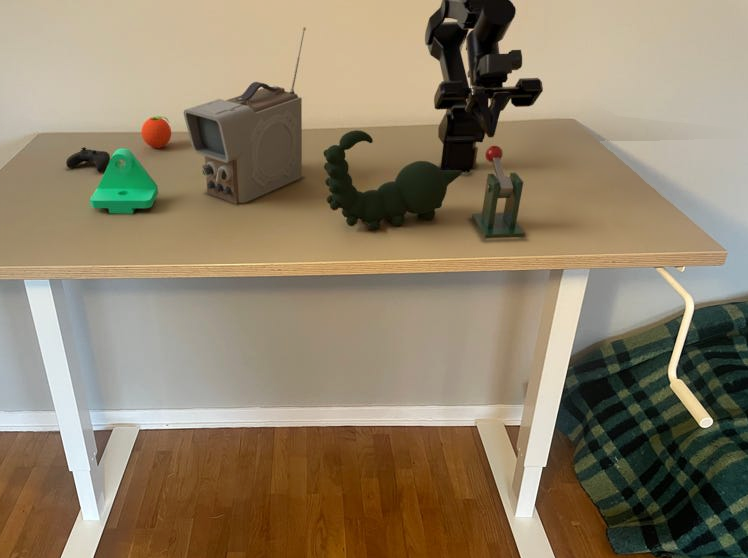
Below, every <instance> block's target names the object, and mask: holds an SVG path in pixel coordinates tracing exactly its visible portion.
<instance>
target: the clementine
mask: <svg viewBox="0 0 748 558" xmlns="http://www.w3.org/2000/svg"><path fill="white" fill-rule="evenodd" d="M163 118H164V119H163ZM141 137H142V140H143V141H144V143H145V144H146V145H148V146H150V147H151V148H154V149H160V148H164V147H165V146H166V145H168V144H169V142H170V140H171V139H172V138H171V137H172V128H171V126H170V121H169V119H168V118H167V117H165V116H161V115H160V116H159V115H158V116H153V117H150V118H147V120H145V121H144V123H143V124H142V127H141Z"/></svg>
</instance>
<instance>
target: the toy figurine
mask: <svg viewBox="0 0 748 558" xmlns="http://www.w3.org/2000/svg"><path fill="white" fill-rule="evenodd" d="M361 142H367V143H368V144H372V143H373V142H374V140H373V138H372V136H371V135H370V134H368V133H367V132H366V131H363V130H355V129H354V130H351V131H347V132H346V133H345V134H343V135H342V136H341V138H340V139H339V144H332V145H330V146H329V147H328V148H327V149H324V151H323V153H322V154H323V157H325V160H326V162H325V163H324V165H323V169H324V170H325V171H326V174H327V175H328V177H327V178H325V180H324V183H325V186H327V187H328V192H330V194H329V195H327V197H326V202H327V203H328V204H329V207H330V210H332V211H338V210H339V209H341V214H342V216H343V218H346V220H345V222H346V224H347V225H348V227H354V226H356V225H357V224H358V220H359V221H362V223H364V224H365V223H366V224H368V227H369V229H370V230H372V231H376V230H378V229H379V228H380V227H381V222H383V221H384V220H385V219H386V220H389V221H390V222H391V224H392V225H393V226H394V227H401V226H402V225H404V224H405V220H406V217H405V215H406V214H407V213H409V214H413V215H417V217H418V219H419V220H421V221H424V222H430V221H432V220H434V218H435V217H436V210H437V209H440V208H442V206H443V202H444V200H445V198H446V194H447V191H448V190H447V189H448V186H449V185H450V184H451V183H453V182H454V181H455V180H456V179H457V178H459V177H460V176H461V175H462V174H463V172H462V171H461V170H441V169H440V168H439V167H440V166H438V165H437V164H435V163H433V162H429V161H426V160H418V161H413V162H411V163H409V164H407V165H405V166H404V167H403V168H402V169H401V170H400V171H399V172H398V173H397V175H396V177H395V179H394V181H393V180H392V181H387V182H385V183H382V184H381V185H380V186H379V187H378V188H377V189H368V190H366V191H364V192H363V191H360V190H357V188H356V186H355V185H353V178H352V175H351V174H350V173H349V169H350V167H349V163H348V161H347V160H346V152H345V151H348V150H350V149H352V148H353V147H354V146H355V145H356V144H358V143H361Z"/></svg>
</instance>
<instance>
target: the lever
mask: <svg viewBox="0 0 748 558" xmlns="http://www.w3.org/2000/svg"><path fill="white" fill-rule="evenodd" d="M503 153H504V152H503V149H502V148H501V147H500V146H498V145H492V146H489V147H488V148H487V149H486V151H485V159H486V160H487V162H489V163H492V166H493V170H494V173H495V176H496V178H497V179H498V180H499V182H500V189H499V195H498V199H506V198H510V196H511V194H512V191H513V185H512V181H511V178H510V176H506V174H505V172H504V169H503V165H502V162H501V160H502V158H503V155H504V154H503Z"/></svg>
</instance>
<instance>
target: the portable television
mask: <svg viewBox="0 0 748 558" xmlns="http://www.w3.org/2000/svg"><path fill="white" fill-rule="evenodd" d="M306 30H307V28H306V27H305V26H303V27H302V35H301V39H300V40H301V41H300V45H299V51H298V55H297V58H296V64H295V69H294V74H293V77H292V83H291V88H290V91H286V90H285V88H284V87H280V86H276V85H275V86H270V85H269V84H267V83H264V82H260V81H254V82H252V83H250V84H249V85H248V87H247V88H246V90H245V91H244V92H243V93H242V94H240V95H238V96H235V97H231V98H228V99H226V100H224V99H221V98H218V99H215V100H211V101H208V102H205V103H201V104H199V105H196V106H193V107H189V108H186V109H184V110H183V117H184V121H185V125H186V129H187V132H188V137H189V140H190V143H191V147H192V150H193V151H194V152H195V153H196V154H198V155H201V156H204V164H203V165H202V166H201V168H202V174H203V175H204V176H205V178H206V191H207V194H208V195H210V196H213V197H215V198H219V199H221V200H224V201H226V202H230V203H233V204H235V205H238V204H245V203H248V202H250V201H252V200H255V199H258V198H259V197H261V196H264V195H266V194H268V193H270V192H273V191H275V190H278V189H280V188H282V187H284V186H286V185H288V184H290V183H293V182H295V181H298V180H300V179H302V178H303V174H302V173H303V168H302V167H303V158H302V157H303V152H302V151H303V149H302V147H303V146H302V145H303V140H302V139H303V135H302V134H303V133H302V132H303V131H302V129H303V128H302V127H303V124H302V123H303V121H302V118H303V117H302V116H303V115H302V114H303V110H302V104H303V103H302V97H300V96H298V94H297V93H295V89H294V88H295V83H296V78H297V73H298V68H299V63H300V59H301V58H300V56H301V51H302V45H303V41H304V35H305V31H306Z"/></svg>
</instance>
